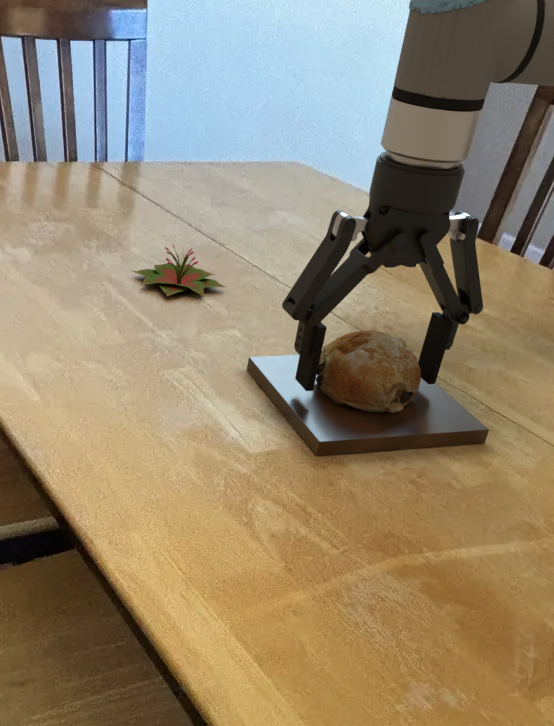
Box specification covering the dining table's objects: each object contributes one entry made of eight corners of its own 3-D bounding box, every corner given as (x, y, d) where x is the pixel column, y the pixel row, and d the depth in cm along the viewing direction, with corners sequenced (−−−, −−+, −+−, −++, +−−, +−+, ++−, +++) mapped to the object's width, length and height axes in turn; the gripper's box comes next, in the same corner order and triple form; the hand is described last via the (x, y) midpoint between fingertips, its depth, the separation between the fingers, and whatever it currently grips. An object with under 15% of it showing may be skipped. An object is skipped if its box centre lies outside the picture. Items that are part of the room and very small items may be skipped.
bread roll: (354, 450, 85) (403, 397, 79) (285, 376, 88) (328, 318, 81) (404, 419, 92) (453, 368, 86) (338, 350, 94) (382, 295, 88)
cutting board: (395, 362, 98) (398, 350, 97) (484, 443, 85) (489, 429, 84) (246, 369, 94) (248, 356, 93) (316, 456, 80) (319, 441, 79)
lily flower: (242, 295, 111) (247, 259, 109) (162, 307, 106) (166, 269, 103) (191, 264, 119) (195, 230, 117) (115, 273, 114) (117, 238, 111)
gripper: (519, 149, 81) (453, 359, 94) (272, 142, 74) (237, 370, 87) (570, 170, 75) (493, 392, 88) (308, 165, 69) (264, 405, 81)
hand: (365, 381), depth 88 cm, fingers open, 13 cm apart
